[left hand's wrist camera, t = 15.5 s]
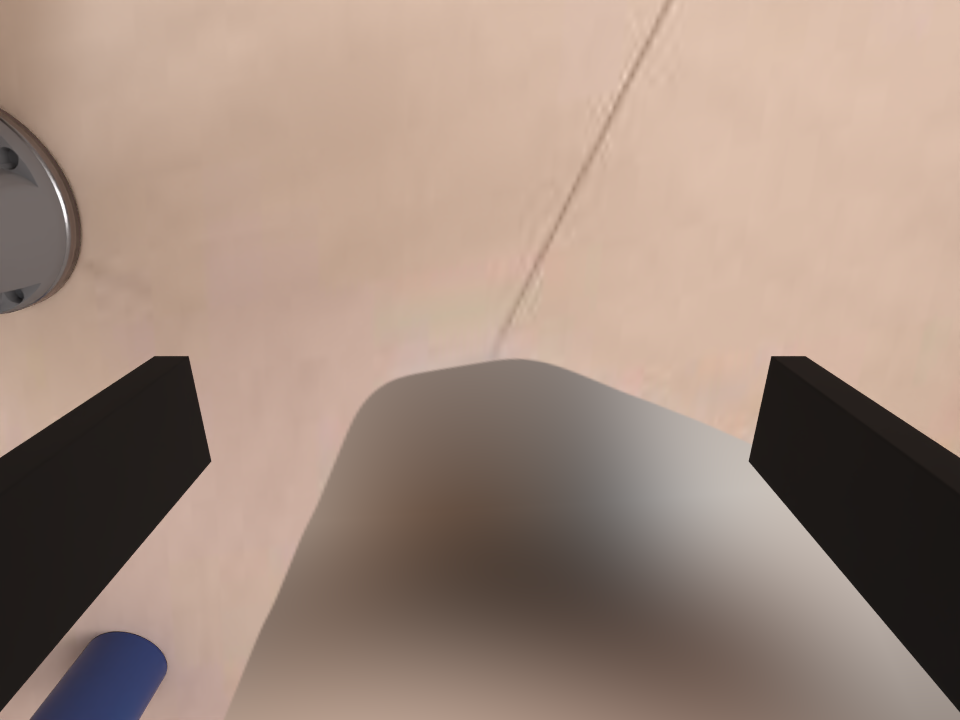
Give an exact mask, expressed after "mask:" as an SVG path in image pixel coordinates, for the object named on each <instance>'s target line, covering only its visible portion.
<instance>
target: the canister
mask: <svg viewBox="0 0 960 720" xmlns="http://www.w3.org/2000/svg"><path fill="white" fill-rule="evenodd" d="M166 671H167V662H166V659H165V657H164V655H163V654H162V652H161V651H160V650H159V649H158V648H157V647H156V646H155V645H154V644H153V643H151V642H150V641H148V640H146V639H144V638H142V637H140V636H137V635H134V634H131V633H125V632H110V633H105V634H102V635H99V636H97V637H96V638H94V639H93V640H92V641H91V642H90V643H89V644H88V646H87V647H86V648H85V649H84V651H83V652H82V653H81V654H80V656H79V657H78V658H77V660H76V661H75V662H74V663H73V665H72V666H71V667H70V669H69V670H68V671H67V672H66V674H65V675H64V676H63V678H62V679H61V680H60V681H59V683H58V684H57V685H56V687H55V688H54V689H53V690H52V692H51V693H50V694H49V696H48V697H47V698H46V699H45V701H44V702H43V703H42V705H41V706H40V707H39V708H38V710H37V711H36V712H35V713H34V715H33V716H32V717H31V719H30V720H139V719H140V717H141V715H142V714H143V712H144V710H145V709H146V707H147V705H148V704H149V702H150V700H151V698H152V697H153V695H154V693H155V692H156V690H157V688H158V687H159V685H160V683H161V682H162V680H163V678H164V676H165V674H166Z"/></svg>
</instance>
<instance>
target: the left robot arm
mask: <svg viewBox="0 0 960 720" xmlns="http://www.w3.org/2000/svg"><path fill="white" fill-rule="evenodd" d="M80 243H81V227H80V219H79V213H78V209H77V205H76V202H75V199H74V196H73V193H72V190H71V188H70V186H69V184H68V181H67V179H66V178H65V176H64V174H63V172H62V170H61V169H60V167H59V165H58V164H57V162H56V161H55V159H54V158H53V157H52V155H51V154H50V153H49V151H48V150H47V149H46V148H45V146H44V145H43V144H42V143H41V142H40V141H39V140H38V139H37V138H36V137H35V136H34V135H33V134H32V133H31V132H30V131H29V130H28V129H27V128H26V127H25V126H24V125H23V124H21V123H20V122H19V121H18V120H16V119H15V118H14V117H12V116H11V115H10V114H8V113H7V112H5V111H3V110H2V109H0V314H4V313H10V312H14V311H17V310H21V309H24V308H26V307H29V306H32V305H35V304H37V303H39V302H42V301H44V300H45V299H47V298H49V297H51V296H52V295H53V294H55V293H56V292H57V291H58V290H59V289H60V288H61V287H62V286H63V285H64V284H65V283H66V281H67V280H68V279H69V277H70V275H71V274H72V272H73V270H74V267H75V265H76V262H77V259H78V256H79V250H80ZM210 462H211V458H210V453H209V449H208V444H207V439H206V435H205V430H204V425H203V421H202V416H201V412H200V407H199V402H198V398H197V393H196V389H195V384H194V379H193V375H192V370H191V365H190V361H189V356H154V357H153V358H151V359H150V360H148V361H147V362H145V363H144V364H142V365H141V366H139V367H137V368H136V369H134V370H133V371H131V372H130V373H128V374H127V375H125V376H124V377H122V378H121V379H119V380H118V381H116V382H115V383H113V384H112V385H110V386H109V387H107V388H106V389H104V390H103V391H101V392H99V393H98V394H96V395H95V396H93V397H92V398H90V399H89V400H87V401H86V402H84V403H83V404H81V405H80V406H78V407H77V408H75V409H74V410H72V411H71V412H69V413H68V414H66V415H65V416H63V417H61V418H60V419H58V420H57V421H55V422H54V423H52V424H51V425H49V426H48V427H46V428H45V429H43V430H42V431H40V432H39V433H37V434H36V435H34V436H33V437H31V438H30V439H28V440H27V441H25V442H23V443H22V444H20V445H19V446H17V447H16V448H14V449H13V450H11V451H10V452H8V453H7V454H5V455H4V456H2V457H1V458H0V712H1V710H2V709H3V708H4V707H5V706H6V704H7V703H8V702H9V701H10V700H11V699H12V697H13V696H14V695H15V694H16V693H17V691H18V690H19V689H20V688H21V687H22V685H23V684H24V683H25V682H26V681H27V680H28V678H29V677H30V676H31V675H32V674H33V672H34V671H35V670H36V669H37V668H38V666H39V665H40V664H41V663H42V662H43V661H44V659H45V658H46V657H47V656H48V655H49V653H50V652H51V651H52V650H53V649H54V647H55V646H56V645H57V644H58V643H59V642H60V640H61V639H62V638H63V637H64V636H65V634H66V633H67V632H68V631H69V630H70V628H71V627H72V626H73V625H74V624H75V623H76V621H77V620H78V619H79V618H80V617H81V615H82V614H83V613H84V612H85V611H86V609H87V608H88V607H89V606H90V605H91V604H92V602H93V601H94V600H95V599H96V598H97V596H98V595H99V594H100V593H101V592H102V590H103V589H104V588H105V587H106V586H107V585H108V583H109V582H110V581H111V580H112V579H113V577H114V576H115V575H116V574H117V573H118V571H119V570H120V569H121V568H122V567H123V566H124V564H125V563H126V562H127V561H128V560H129V558H130V557H131V556H132V555H133V554H134V552H135V551H136V550H137V549H138V548H139V547H140V545H141V544H142V543H143V542H144V541H145V539H146V538H147V537H148V536H149V535H150V533H151V532H152V531H153V530H154V529H155V528H156V526H157V525H158V524H159V523H160V522H161V520H162V519H163V518H164V517H165V516H166V514H167V513H168V512H169V511H170V510H171V509H172V507H173V506H174V505H175V504H176V503H177V501H178V500H179V499H180V498H181V497H182V495H183V494H184V493H185V492H186V491H187V490H188V488H189V487H190V486H191V485H192V484H193V482H194V481H195V480H196V479H197V478H198V476H199V475H200V474H201V473H202V472H203V471H204V469H205V468H206V467H207V466H208V465H209V463H210ZM749 462H750V463H751V465H752V466H753V467H754V468H755V469H756V471H757V472H758V473H759V474H760V475H761V476H762V478H763V479H764V480H765V481H766V482H767V484H768V485H769V486H770V487H771V488H772V490H773V491H774V492H775V493H776V494H777V495H778V497H779V498H780V499H781V500H782V501H783V503H784V504H785V505H786V506H787V507H788V509H789V510H790V511H791V512H792V513H793V514H794V516H795V517H796V518H797V519H798V520H799V522H800V523H801V524H802V525H803V526H804V528H805V529H806V530H807V531H808V532H809V533H810V535H811V536H812V537H813V538H814V539H815V541H816V542H817V543H818V544H819V545H820V546H821V548H822V549H823V550H824V551H825V552H826V554H827V555H828V556H829V557H830V558H831V560H832V561H833V562H834V563H835V564H836V566H837V567H838V568H839V569H840V570H841V571H842V573H843V574H844V575H845V576H846V577H847V579H848V580H849V581H850V582H851V583H852V585H853V586H854V587H855V588H856V589H857V590H858V592H859V593H860V594H861V595H862V596H863V598H864V599H865V600H866V601H867V602H868V603H869V605H870V606H871V607H872V608H873V609H874V611H875V612H876V613H877V614H878V615H879V617H880V618H881V619H882V620H883V621H884V623H885V624H886V625H887V626H888V627H889V628H890V630H891V631H892V632H893V633H894V634H895V636H896V637H897V638H898V639H899V640H900V642H901V643H902V644H903V645H904V646H905V647H906V649H907V650H908V651H909V652H910V653H911V654H912V656H913V657H914V658H915V659H916V661H917V662H918V663H919V664H920V665H921V666H922V668H923V669H924V670H925V671H926V672H927V673H928V675H929V676H930V677H931V678H932V679H933V681H934V682H935V683H936V684H937V685H938V687H939V688H940V689H941V690H942V691H943V693H944V694H945V695H946V696H947V697H948V699H949V700H950V701H951V702H952V703H953V704H954V706H955V707H956V708H957V709H958V710H959V712H960V458H959V457H958V456H956V455H955V454H953V453H952V452H950V451H949V450H947V449H946V448H944V447H943V446H941V445H940V444H938V443H937V442H935V441H933V440H932V439H930V438H929V437H927V436H926V435H924V434H923V433H921V432H920V431H918V430H917V429H915V428H914V427H912V426H911V425H909V424H908V423H906V422H905V421H903V420H902V419H900V418H899V417H897V416H895V415H894V414H892V413H891V412H889V411H888V410H886V409H885V408H883V407H882V406H880V405H879V404H877V403H876V402H874V401H873V400H871V399H870V398H868V397H867V396H865V395H864V394H862V393H861V392H859V391H857V390H856V389H854V388H853V387H851V386H850V385H848V384H847V383H845V382H844V381H842V380H841V379H839V378H838V377H836V376H835V375H833V374H832V373H830V372H829V371H827V370H826V369H824V368H823V367H821V366H819V365H818V364H816V363H815V362H813V361H812V360H810V359H809V358H807V357H806V356H771V361H770V365H769V370H768V375H767V379H766V384H765V388H764V393H763V398H762V402H761V407H760V412H759V416H758V421H757V425H756V430H755V435H754V439H753V444H752V449H751V453H750V458H749Z"/></svg>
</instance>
